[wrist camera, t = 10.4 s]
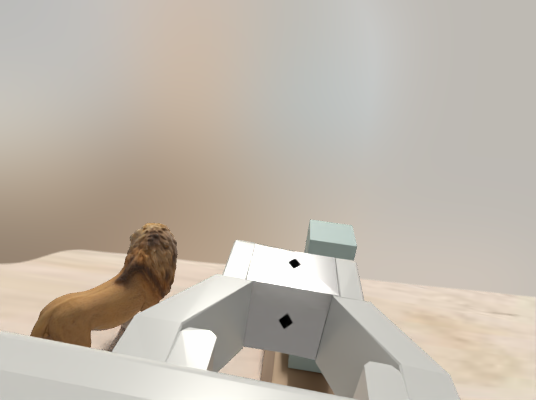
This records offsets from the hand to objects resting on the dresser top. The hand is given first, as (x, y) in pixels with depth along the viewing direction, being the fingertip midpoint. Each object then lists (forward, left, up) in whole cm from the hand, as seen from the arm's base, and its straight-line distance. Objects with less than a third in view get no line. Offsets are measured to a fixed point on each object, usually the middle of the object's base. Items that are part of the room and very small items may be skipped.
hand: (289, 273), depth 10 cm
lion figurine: (-13, +15, -19) cm, 27 cm away
